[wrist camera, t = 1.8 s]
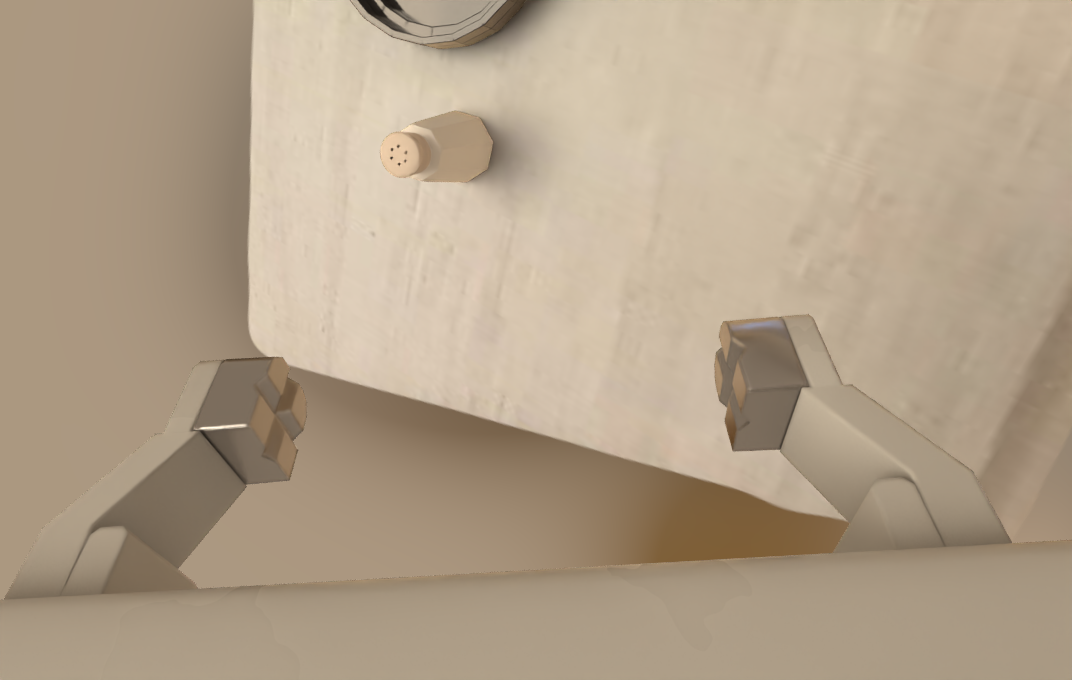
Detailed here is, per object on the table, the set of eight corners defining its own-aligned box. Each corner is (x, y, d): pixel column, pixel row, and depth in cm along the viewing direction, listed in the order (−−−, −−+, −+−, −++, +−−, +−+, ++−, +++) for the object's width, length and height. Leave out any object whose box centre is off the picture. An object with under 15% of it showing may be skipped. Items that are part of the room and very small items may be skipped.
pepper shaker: (417, 153, 51) (345, 163, 41) (452, 95, 49) (386, 90, 39) (469, 196, 51) (410, 216, 41) (507, 140, 49) (455, 147, 39)
